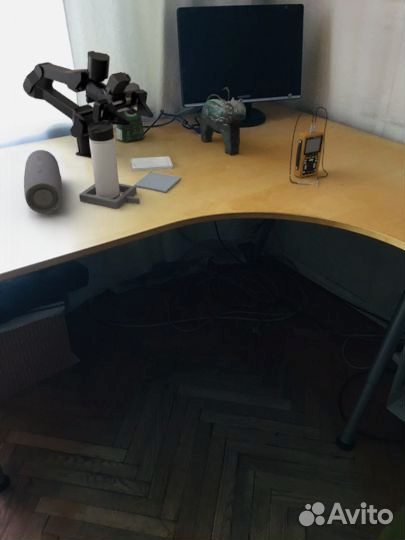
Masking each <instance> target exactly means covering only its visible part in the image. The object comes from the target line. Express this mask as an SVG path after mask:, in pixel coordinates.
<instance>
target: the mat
mask: <svg viewBox="0 0 405 540" xmlns="http://www.w3.org/2000/svg"><path fill="white" fill-rule="evenodd" d="M181 179H182V178H181V177H180V176H174V175H169V174H165V173H160V172H153V171H150V172H148V173H147V174H146V175H145V176H143V177H142V178H141V179H139V180H138V181H137V182H136V183H134V184H133V186H135V187H136V188H139V189H143V190H148V191H149V190H150V191H153V192H158V193H159V192H160V193H165V194H167V192H169V191H170V190H171V189H172V188H173V187H174V186H175V185H176V184H178V183H179V182H180V180H181Z"/></svg>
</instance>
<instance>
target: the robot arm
mask: <svg viewBox="0 0 405 540" xmlns="http://www.w3.org/2000/svg"><path fill="white" fill-rule="evenodd" d="M110 61H111V56H110V55H109V54H107V53H103V52H100V51H99V52H98V51H97V52H96V51H94V50H90V51H87V65H86V66H87V68H80V69H71V68H67V67H64V66H60V65H57V64H53V63H52V62H50V61H46V62H41V63H37V64H36V65H34V68H33V70H32V71H30V72H29V73H28V74H27V75H25V78H24V80H23V83H22V88H23V90H24V92H25V93H26V95H27V96H29V97H30V98H32V99H34V100H41V101H45V102H46V103H48V104H49V105H50V106H52V107H53V108H55V109H56V110H58V111H59V112H61V113H62V114H63V115H65V116H66V117H67V118H69V119H70V120H71V121H72V126H71V127H70V129H69V131H70V135H71V137H73V138H76V144H77V149H78V151H77V152H75V155H76V156H80V157H81V156H82V157H88V158H92V157H91V149H90V140H89V132H88V127H89V125H91V124H93V123H95V122H101V121H103V120H107V121H110V123H112V124H113V126H116V125H130V121H129V120H128V119H127V118H125V117H124V116H123V115H122V114H120V113H122V112H123V111H125V110H128V109H131V111H132V112H134V113H136V114H137V115H141V117H146V118H149V119H150V118H151V119H152V118H154V113H153V111H152V110H151V108H150V107H149V105H148V104H147V101H148V94H149V93H148V92H147V91H146V90H144V89H143V88H140V90H137V91H134V92H132V93H131V100H127V101H126V98H125V96H126V95H127V92H126V91H124V90H125V89H126V86H128V85H129V83H131V81H132V78H131V76H130V74H128V73H126V72H125V71H124V72H123V71H119V72H115V73H111V74H110ZM109 74H110V75H109ZM107 79H108V80H107ZM106 80H107V83H105V81H106ZM55 81H56V82H58V83H60V84H61V83H62V84H64V85H66V86H67V88H68V90H71V91H72V92H74V93H81V92H82V93H83V92H85V102H86V104H84V105H83V104H82V105H79V104H77V103H76V102H74V101H73V100H72V99H70V98H68V97H67V96H66V95H64V94H63V93H61V92H60V91H58V90H57V89H56V88H55V87H54V86H53V83H54V82H55ZM92 103H93V104H92ZM91 104H92V105H93V106H92V105H91Z"/></svg>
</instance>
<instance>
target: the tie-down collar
mask: <svg viewBox="0 0 405 540" xmlns="http://www.w3.org/2000/svg"><path fill="white" fill-rule="evenodd" d="M119 190H120V196H119V197H118V198H116V199H115V200H114V199H109V198H105V197H100V196H97V195H96V188H95V183H94V184H92V185H90V186H89V187H87V188H85V190H83V191H82V192H80V193H79V202H83V203H88V204H92V205H96V206H99V207H100V206H101V207H104V208H110V209H114V210H119V208H121V207H122V206H124V205H125V204H126V203H130V204H134V205H139V204H140V203H141V201H140V199H141V198H140V197H138V196H137V197H136V195H137V187H135V186H134V185H131V184H125V183H121V182H119ZM121 193H122V194H121Z"/></svg>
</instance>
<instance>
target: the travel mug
mask: <svg viewBox="0 0 405 540" xmlns="http://www.w3.org/2000/svg"><path fill="white" fill-rule="evenodd" d="M88 132H89V140H90V149H91V157H90V158H91V163H92V169H93V170H92V171H93V179H94V184H95V188H96V194H95V196H100V197H105V198H109V199H114V200H115V199H116V198H118V197H119V196H120V195H121V192H120V190H119V183H120V182H119V172H118V171H119V170H118V162H117V161H118V160H117V150H116V140H115V134H114V133H115V131H114V125H113V124H112V123H110V121H107V120H103V121H101V122H95V123H93V124H91V125H89V127H88Z"/></svg>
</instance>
